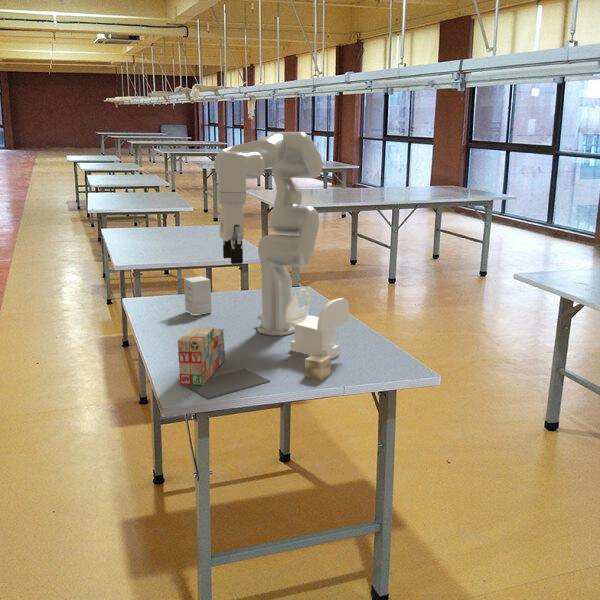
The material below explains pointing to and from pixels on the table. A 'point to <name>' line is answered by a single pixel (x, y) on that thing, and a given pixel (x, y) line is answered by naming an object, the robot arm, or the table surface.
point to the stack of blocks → (200, 354)
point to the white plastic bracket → (316, 325)
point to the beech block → (317, 366)
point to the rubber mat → (228, 383)
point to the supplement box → (197, 295)
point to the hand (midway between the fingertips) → (232, 260)
